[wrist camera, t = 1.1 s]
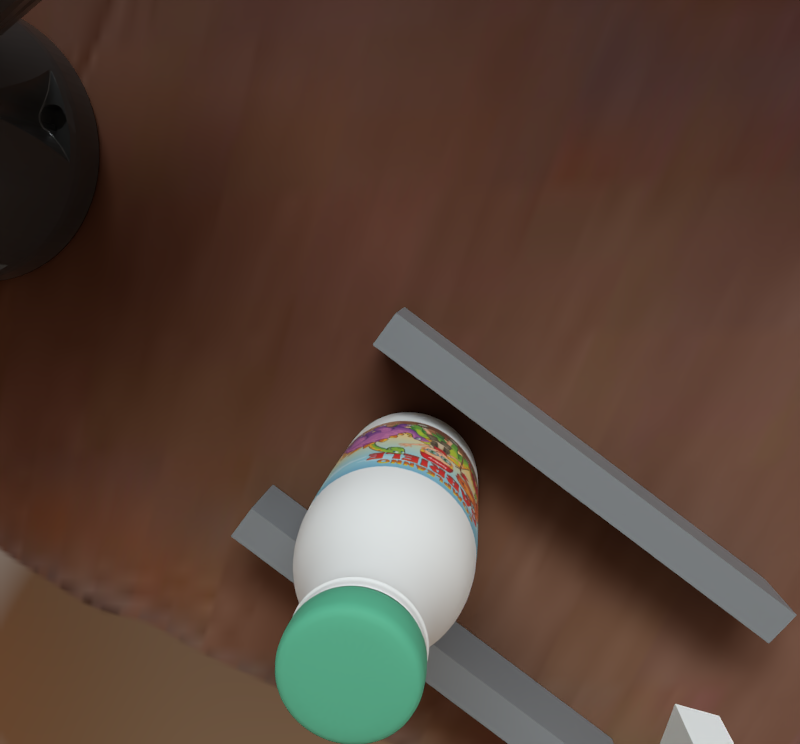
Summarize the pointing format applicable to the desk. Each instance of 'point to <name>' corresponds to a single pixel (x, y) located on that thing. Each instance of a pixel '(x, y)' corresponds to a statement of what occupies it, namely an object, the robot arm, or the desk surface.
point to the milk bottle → (379, 578)
